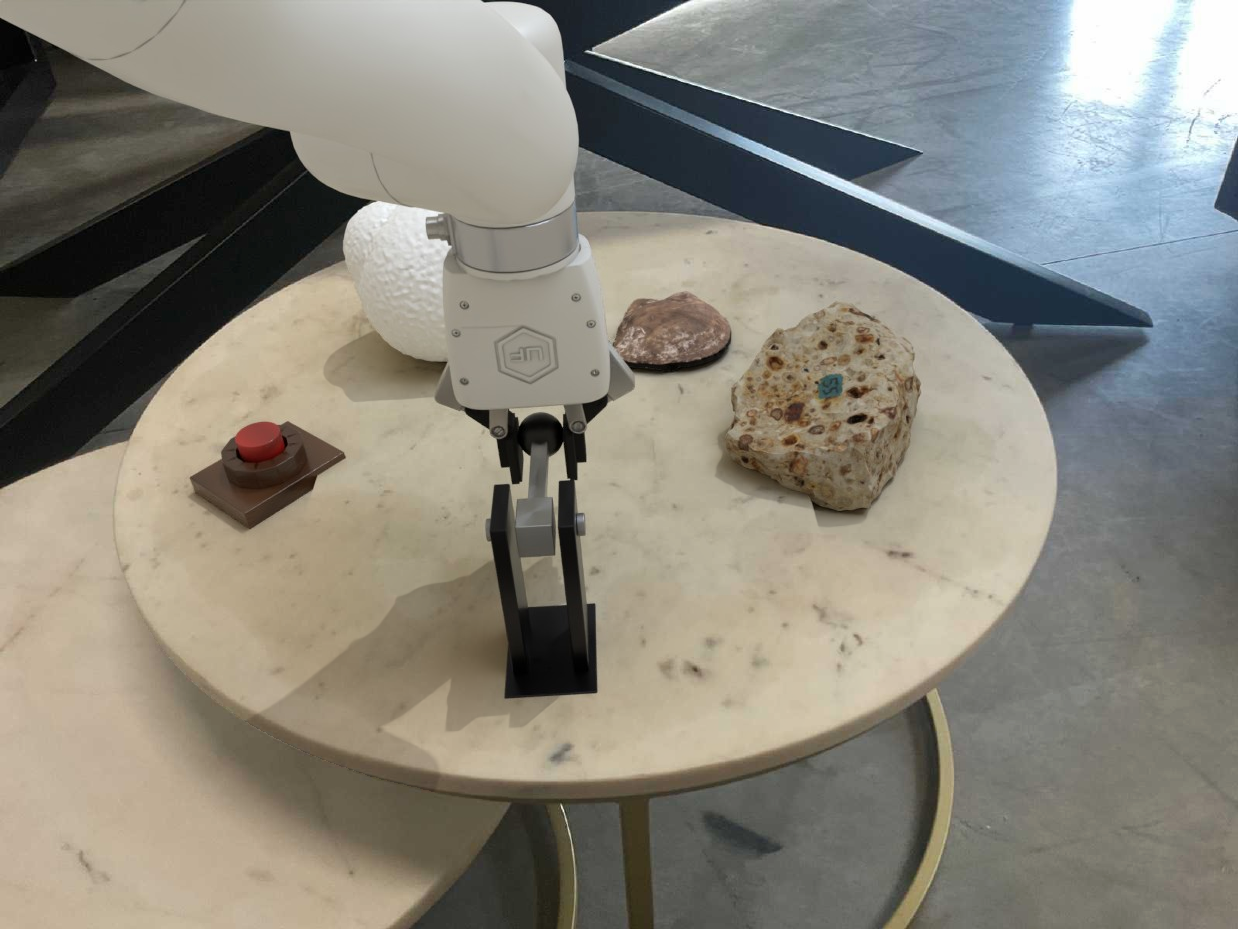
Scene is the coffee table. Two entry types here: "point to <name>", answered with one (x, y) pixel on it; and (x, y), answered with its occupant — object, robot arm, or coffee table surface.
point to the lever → (537, 486)
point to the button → (259, 442)
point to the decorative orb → (399, 277)
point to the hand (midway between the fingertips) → (545, 468)
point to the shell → (671, 333)
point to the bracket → (544, 607)
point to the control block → (265, 476)
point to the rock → (827, 407)
